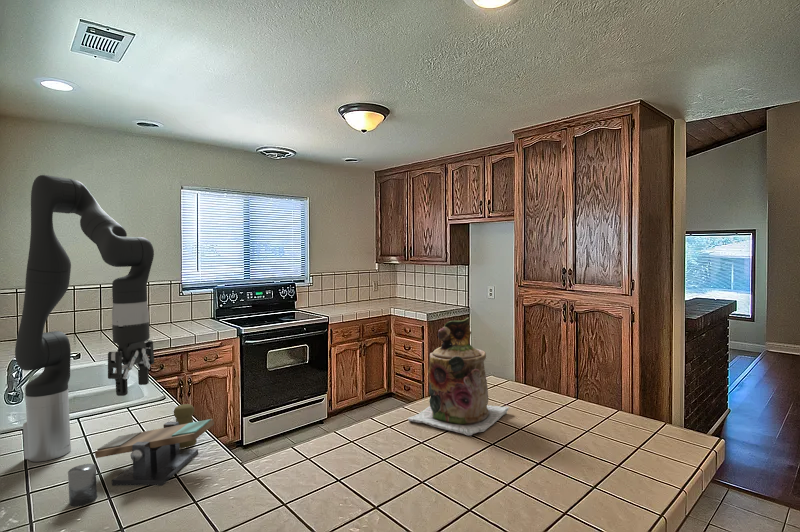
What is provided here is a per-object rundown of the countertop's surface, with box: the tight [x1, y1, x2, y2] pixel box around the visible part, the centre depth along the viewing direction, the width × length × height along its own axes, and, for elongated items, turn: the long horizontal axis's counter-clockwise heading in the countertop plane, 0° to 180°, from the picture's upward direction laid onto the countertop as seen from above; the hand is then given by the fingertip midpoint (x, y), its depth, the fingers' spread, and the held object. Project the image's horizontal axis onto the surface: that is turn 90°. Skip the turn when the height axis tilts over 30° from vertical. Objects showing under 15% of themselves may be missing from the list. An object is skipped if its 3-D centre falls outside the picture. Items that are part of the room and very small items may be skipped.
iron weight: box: [67, 463, 98, 508], centre depth 100 cm, size 5×5×7 cm
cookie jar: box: [407, 317, 510, 437], centre depth 145 cm, size 25×25×32 cm
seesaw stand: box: [111, 421, 199, 486], centre depth 115 cm, size 12×17×9 cm
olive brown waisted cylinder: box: [173, 403, 198, 449], centre depth 130 cm, size 6×6×11 cm
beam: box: [94, 418, 215, 459], centre depth 115 cm, size 25×10×2 cm, turn 87°
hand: (133, 389), depth 109 cm, fingers open, 8 cm apart
